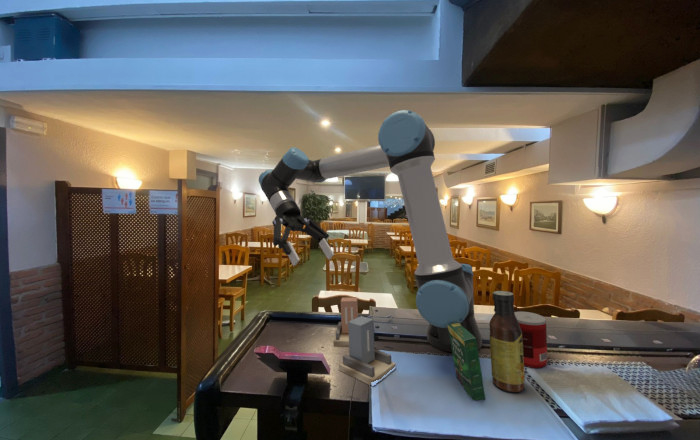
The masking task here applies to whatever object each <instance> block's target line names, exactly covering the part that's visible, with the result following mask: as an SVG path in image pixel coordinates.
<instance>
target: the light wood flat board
mask: <svg viewBox="0 0 700 440" xmlns="http://www.w3.org/2000/svg"><path fill="white" fill-rule="evenodd" d="M334 335H335V336H334V338H333V347H349V333H342V324H341V321H338V324H337V328H336V331H335V334H334ZM374 349H375V359H374V360H373V361H371V362H370V363H368V364H366V363H364V362H362V361H359V360H357V359H355V358H352V357H350V355H347V354H344V355H342V362H341V363H338V370H339V371H340V372H342V373H344V374H345V375H348V376H350V377H352V378H354V379H356V380H358V381H360V382H363V383H364V384H366V385H369V386H370V384H371V382H374V381H376V380H379V379H381V378H382V377H383V376H384V375H386V374H387V373H388V372H389V371H390V370H392V369H393V368H394V367H395V366H397V365H396V362H393V361H392V355H391V354H389V353H387V352H384V351H381V350H379V349H376V348H374Z"/></svg>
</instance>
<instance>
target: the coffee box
mask: <svg viewBox="0 0 700 440" xmlns="http://www.w3.org/2000/svg"><path fill="white" fill-rule="evenodd" d="M447 326H448V331H449V337H450V342H451V348H452V352H451V354H452V358H453V359H452V360H453V365H454V370H455V376H456V379H457V380H458V382H459V383H460V385H461V386H462V388H463V389H464V391H465V392H466V394H467V395H468V396H469V397H470V399H471V400H472V401H481V400H482V401H483V400H486V394H485V387H484V381H483V375H482V368H481V362H480V355H479V350H478V348H477V342H476V338H475V337H474V336H473V335H472V334H471V333H470V332H468V331H467V330H466V329H465V328H464V327H463V326H462V325H460V324H459V323H458V322H457V323H451V324H448V325H447Z"/></svg>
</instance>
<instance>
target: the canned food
mask: <svg viewBox="0 0 700 440" xmlns="http://www.w3.org/2000/svg"><path fill="white" fill-rule="evenodd" d="M514 314H515V316H516V318H517V321H518V323H519V326H520V328H521V330H522V342H523V358H524V367H527V368H532V369H539V368H540V369H541V368H544V367H546V366H547V365H548V364H547V363H548V348H547V347H548V341H547V340H548V339H547V338H548V337H547V334H548V333H547V320H546V317H544V316H543V315H540V314H539V313H535V312H529V311H514Z"/></svg>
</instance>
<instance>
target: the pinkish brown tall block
mask: <svg viewBox="0 0 700 440" xmlns="http://www.w3.org/2000/svg"><path fill="white" fill-rule="evenodd" d="M358 308H359V307H358V297H357V296H355V297H353V296H352V297H348V296H347V297H341V299H340V316H341V317H340V318H341V319H340V320H341V321H340V322H341V324H342V333H349V330H348V322H349V321H351V320H354V319H356V318H358V317H359V312H358V311H359V309H358Z"/></svg>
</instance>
